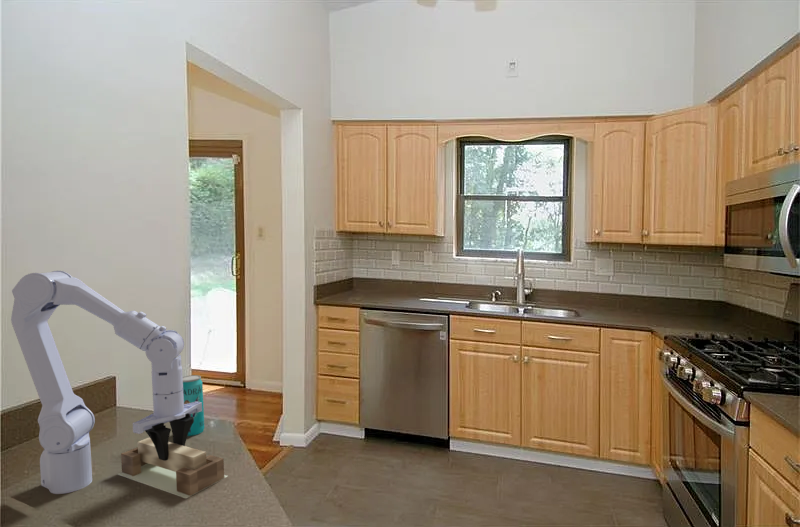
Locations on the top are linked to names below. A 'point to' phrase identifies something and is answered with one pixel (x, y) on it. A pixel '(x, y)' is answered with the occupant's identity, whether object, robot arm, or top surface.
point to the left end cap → (131, 462)
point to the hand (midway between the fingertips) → (171, 455)
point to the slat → (172, 456)
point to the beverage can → (192, 394)
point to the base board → (158, 479)
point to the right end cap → (200, 476)
